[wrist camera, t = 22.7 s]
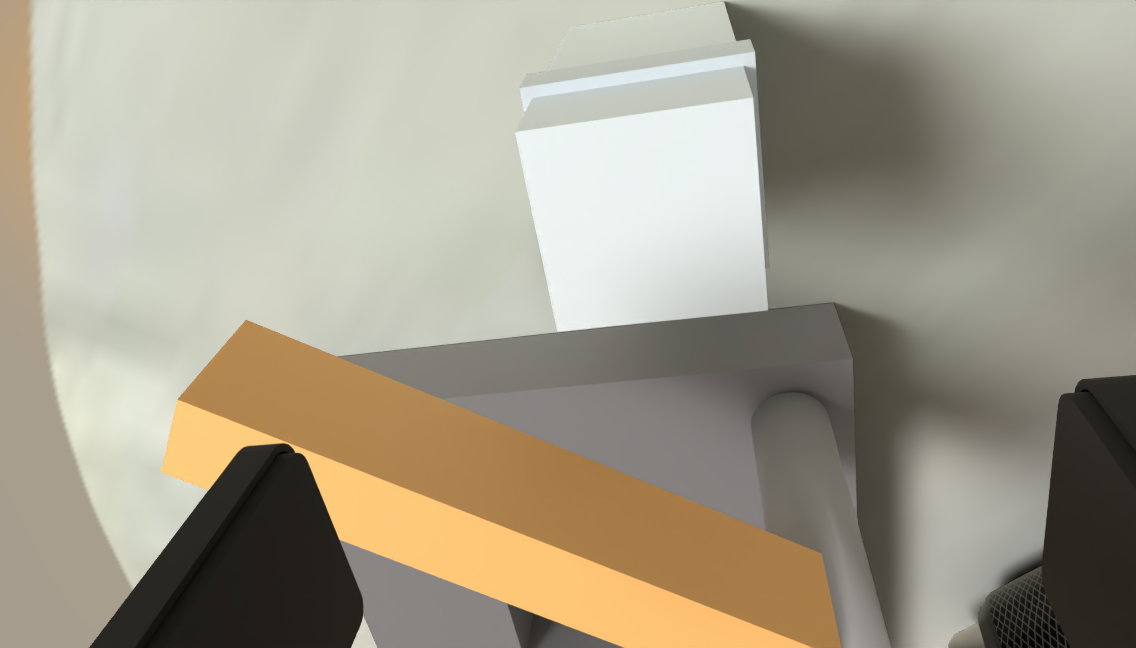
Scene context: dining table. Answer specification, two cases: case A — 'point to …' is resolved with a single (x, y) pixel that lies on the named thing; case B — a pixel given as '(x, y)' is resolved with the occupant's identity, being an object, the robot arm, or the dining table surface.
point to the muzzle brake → (1014, 618)
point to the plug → (647, 170)
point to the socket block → (612, 436)
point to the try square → (548, 506)
